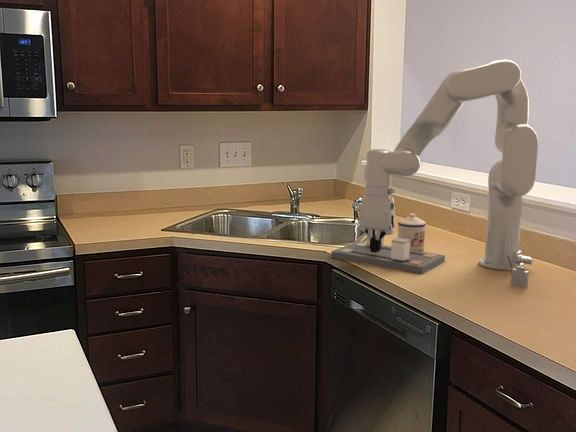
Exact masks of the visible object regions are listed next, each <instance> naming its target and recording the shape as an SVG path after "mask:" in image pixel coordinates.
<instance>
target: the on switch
mask: <svg viewBox="0 0 576 432" xmlns="http://www.w3.org/2000/svg"><path fill="white" fill-rule="evenodd" d="M376 233H377V230H376ZM384 238H385V236H384V237H383V238H382V239H381V246H383V245H384ZM365 243H366V246H370V239H369V237H368V235H367V234H366V241H365Z"/></svg>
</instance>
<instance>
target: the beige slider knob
mask: <svg viewBox="0 0 576 432" xmlns="http://www.w3.org/2000/svg"><path fill="white" fill-rule="evenodd" d="M390 247H391V259H396V260H402V261H404V260H406V259H408V258H409V253H410V239H403V238H398V237H395V238H394V239H391V246H390Z"/></svg>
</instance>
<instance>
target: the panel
mask: <svg viewBox="0 0 576 432" xmlns="http://www.w3.org/2000/svg"><path fill="white" fill-rule="evenodd" d="M330 253H331V254H330V255H331V256H330V257H331V258H332V259H337V260H340V261H341V260H343V261H348V262H353V263H359V264H365V265H371V266H376V267H381V268H387V269H393V270H397V269H398V271H402V270H404V272H408V271H409V273H413V272H414V273H415V274H419V275H423V274H425V273H427V272H428V271H431V270H432V269H434V268H436V267H438V266H440V265H441V264H443V263H445V261H446V255H445V254H440V253H439V254H438V253H434V252H433V253H431V252H426V251H415V250H410V253H409V258H408V259H406V260H404V261H402V260H396V259H391V246H389V245H384V244H383V246H381V249H380V251H379V252H377V253H374V252H371V249H370V246H366V241H365V242H364V241H355V242H352V243H350V244H348V245H345V246H343V247H340V248H337V249H334V250H331V252H330Z"/></svg>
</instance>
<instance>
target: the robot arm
mask: <svg viewBox="0 0 576 432" xmlns="http://www.w3.org/2000/svg"><path fill="white" fill-rule="evenodd" d="M521 78H522V71H521V69H520V66H519V65H518V64H517V63H516V62H514V61H513V60H511V59H510V60H509V59H501V60H493V61H491V62H489V63H487V64H484V65H481V66H477V67H473V68H467V69H462V70H455V71H452V72H450V73H449V74H448V75H446V77H445V78H443V80H442V82H441V83H440V85H439V86H438V87H437V89H436V90H435V91H434V94H433V95H432V97H431V98H430V100H429V101H428V103H427V104H426V106H424V108H423V110H422V111H421V113H419V115H418V116H417V117H416V119H415V120H414V122H413V123H412V124H411V125H410V127H409V128H408V130H407V131H406V132H405V133H404V135H403V136H402V137H401V139H400V141H399V142H398V144H397V145H396V147H395V148H394V150H393V151H391V150H390V149H383V148H381V149H380V148H375V149H374V148H373V149H369V150H368V151H367V153H366V162H365V163H366V167H365V189H364V190H365V191H364V194H363V195H362V199H361V203H360V209H359V217H358V218H359V220H358V222H359V224H358V225H359V230H360V231H362V232H363V233H365V234H366V236H367V235H368V237H369V239H370V249H371V252H374V253H377V252H379V251H380V249H381V239H382V238H383V237H384V238H385V236H390V235H391V236H392V235H393V234H394V228H395V227H396V206H395V200H394V199H395V198H394V196H393V195H394V194H395V193H396V190H395V189H394V188H393V186H392V176H393V175H395V176H401V177H410V176H414V175H416V173H418V171H419V170H420V167H421V160H420V156H421V155H422V153H423V151H425V149H426V148H427V146H428V145H429V144H430V143H431V141H433V140H434V139H435V138H436V137H438V136H440V135H441V134H442V133H443V132H444V131H446V129H447V128H448V127H449V126H450V124H451V122H452V121H453V119H454V118H455V117H456V115H457V114H458V112H459V110H460V109H461V108H462V107H463V105H464V104H465V102H470V101H475V100H478V99H479V100H480V99H482V98H483V99H484V98H487V97H491V96H493V95H494V96H495V98H496V103H497V105H496V106H497V111H496V112H497V113H496V115H497V116H496V127H495V134H494V135H495V136H494V144H495V148H496V149H497V150H498V151H499V152H500V153H501V154H502V157H501V160H498V161H497V162H495V163H494V164H493V165H492V166H491V168H490V170H489V173H488V180H487V183H488V185H487V186H488V203H487V205H488V206H487V221H486V234H485V246H484V256H483V257H480V258H479V259H478V264H479V265H480V266H481V267H485V268H488V269H492V270H498V271H499V270H500V271H507V269H506V267H505V264H504V261H503V259H502V256H504V255H507V254H509V256H510V259H511V261H512V264H513V267H514V269H516V267H517V266H520V267H524V264H526V265H531V266H532V265H533V262H534V258H531V257H532V256H525V255H523V254H522V250H520V238H521V225H522V215H523V196H526V195H527V194H529V193H530V192H531V190H532V189H533V188H534V184H535V182H536V181H535V180H536V176H537V167H538V154H539V138H538V134H537V133H536V131H535V130H534V129H533V127H531V126H530V125H529V107H530V105H529V104H530V103H529V101H530V100H529V93H528V90H527V88H526V85H525V84H524V82H523V80H522V79H521ZM392 194H393V195H392ZM376 230H377V233H376Z"/></svg>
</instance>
